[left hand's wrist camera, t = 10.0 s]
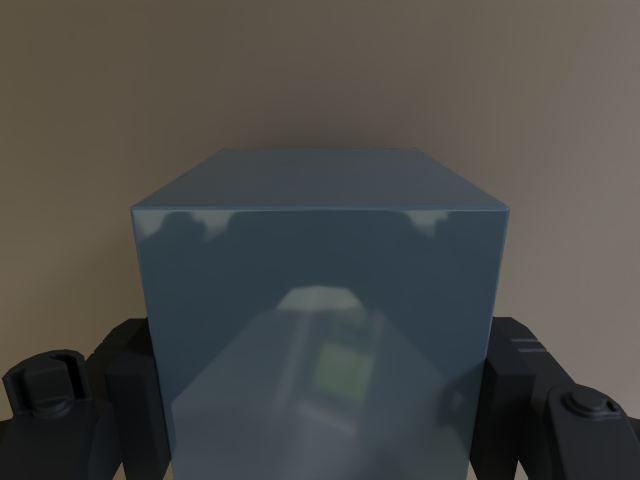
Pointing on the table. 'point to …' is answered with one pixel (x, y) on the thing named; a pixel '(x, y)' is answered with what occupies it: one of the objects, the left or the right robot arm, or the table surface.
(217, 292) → the brick
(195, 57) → the table surface
